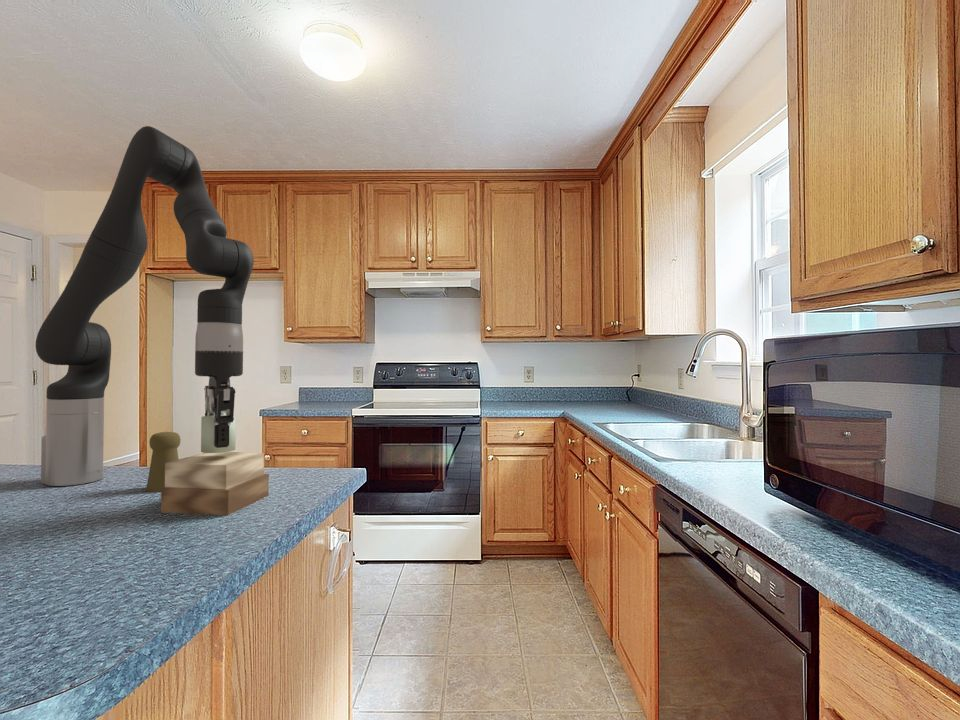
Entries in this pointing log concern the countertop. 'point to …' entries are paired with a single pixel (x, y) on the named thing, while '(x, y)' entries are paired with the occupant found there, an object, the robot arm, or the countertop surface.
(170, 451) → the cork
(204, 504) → the tower base
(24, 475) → the countertop surface
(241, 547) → the countertop surface
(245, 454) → the tower top
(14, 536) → the countertop surface
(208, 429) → the pale green cylinder
